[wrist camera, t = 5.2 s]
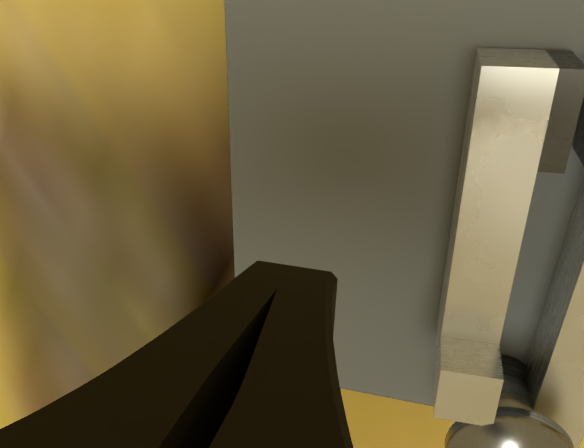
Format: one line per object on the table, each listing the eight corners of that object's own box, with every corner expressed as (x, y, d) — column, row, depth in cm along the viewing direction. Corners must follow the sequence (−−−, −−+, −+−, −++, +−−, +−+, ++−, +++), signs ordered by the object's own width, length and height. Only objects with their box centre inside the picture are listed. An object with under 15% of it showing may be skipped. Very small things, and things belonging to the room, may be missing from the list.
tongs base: (562, 410, 19) (579, 480, 16) (463, 391, 20) (466, 457, 17) (696, 55, 13) (753, 86, 11) (548, 46, 14) (570, 73, 11)
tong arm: (545, 428, 19) (562, 519, 16) (425, 408, 20) (421, 491, 17) (658, 52, 13) (720, 92, 10) (477, 47, 14) (485, 82, 11)
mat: (677, 436, 19) (686, 455, 19) (244, 354, 22) (238, 368, 22) (934, -32, 12) (964, -30, 11) (232, -57, 15) (222, -56, 14)
